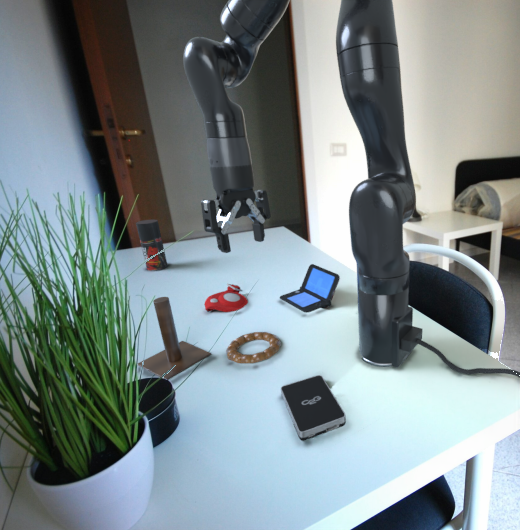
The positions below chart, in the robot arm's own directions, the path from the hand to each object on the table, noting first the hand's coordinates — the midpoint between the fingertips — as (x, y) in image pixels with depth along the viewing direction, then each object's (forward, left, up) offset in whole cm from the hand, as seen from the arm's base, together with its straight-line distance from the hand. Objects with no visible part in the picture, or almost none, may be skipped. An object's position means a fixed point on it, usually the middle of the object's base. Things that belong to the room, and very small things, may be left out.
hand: (243, 246), depth 74 cm
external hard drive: (-27, +14, -19) cm, 36 cm away
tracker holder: (+14, -5, -19) cm, 24 cm away
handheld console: (-2, -16, -19) cm, 25 cm away
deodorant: (+58, -12, -19) cm, 62 cm away
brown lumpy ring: (-7, +7, -18) cm, 20 cm away
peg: (+3, +17, -19) cm, 25 cm away
